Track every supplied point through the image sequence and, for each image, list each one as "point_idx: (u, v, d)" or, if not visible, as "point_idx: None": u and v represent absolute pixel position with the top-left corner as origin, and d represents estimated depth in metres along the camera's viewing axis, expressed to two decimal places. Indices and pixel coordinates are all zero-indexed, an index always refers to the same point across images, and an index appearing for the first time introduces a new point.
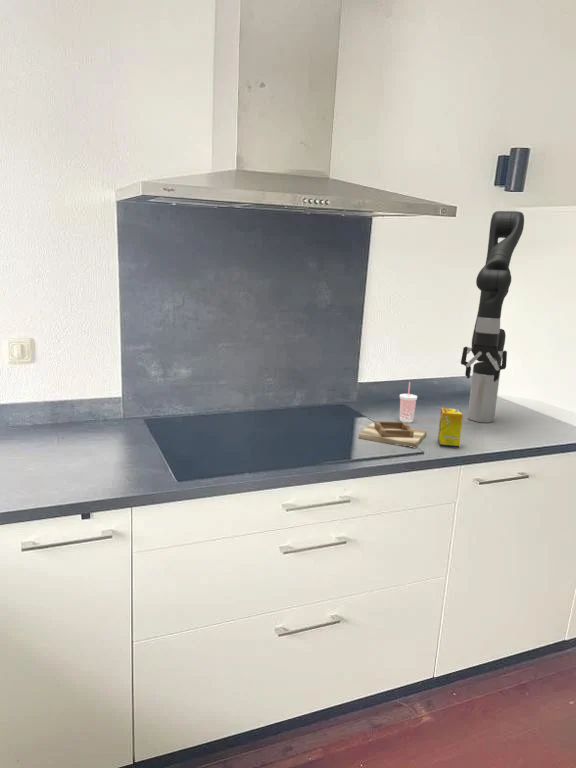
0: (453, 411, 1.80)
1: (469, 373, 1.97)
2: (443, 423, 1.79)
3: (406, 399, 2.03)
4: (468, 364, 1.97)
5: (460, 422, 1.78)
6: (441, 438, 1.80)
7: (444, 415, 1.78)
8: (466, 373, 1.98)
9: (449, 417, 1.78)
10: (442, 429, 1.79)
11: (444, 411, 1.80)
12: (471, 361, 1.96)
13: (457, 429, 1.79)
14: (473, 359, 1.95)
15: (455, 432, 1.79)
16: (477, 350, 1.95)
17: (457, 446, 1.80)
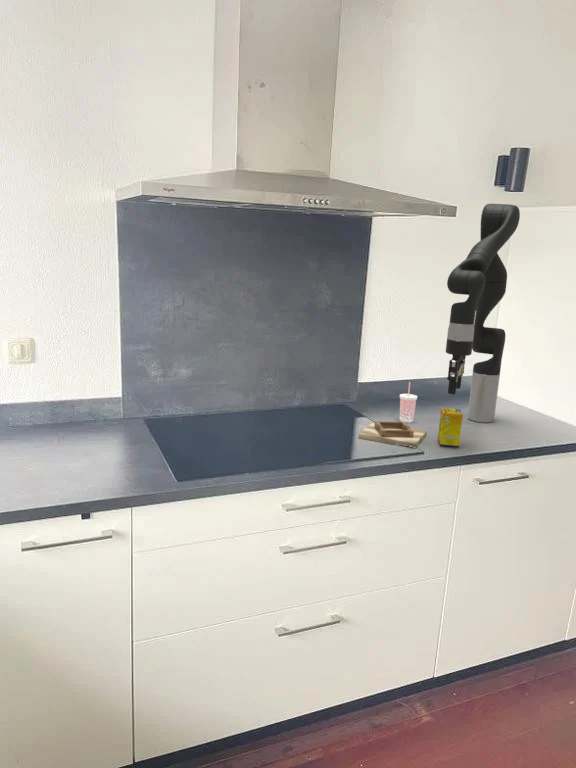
0: (453, 411, 1.80)
1: (456, 388, 1.75)
2: (443, 423, 1.79)
3: (406, 399, 2.03)
4: (457, 379, 1.74)
5: (460, 422, 1.78)
6: (441, 438, 1.80)
7: (444, 415, 1.78)
8: (454, 389, 1.74)
9: (449, 417, 1.78)
10: (442, 429, 1.79)
11: (444, 411, 1.80)
12: (458, 374, 1.74)
13: (457, 429, 1.79)
14: (460, 372, 1.74)
15: (455, 432, 1.79)
16: (460, 361, 1.75)
17: (457, 446, 1.80)
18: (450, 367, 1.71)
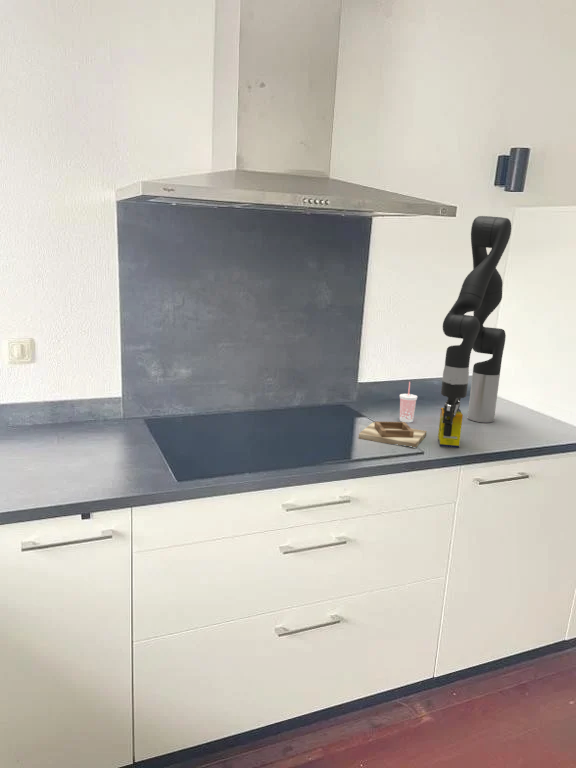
0: None
1: (451, 430, 1.78)
2: (443, 423, 1.79)
3: (406, 399, 2.03)
4: (452, 421, 1.77)
5: (460, 422, 1.78)
6: (441, 438, 1.80)
7: None
8: (449, 431, 1.78)
9: (449, 417, 1.78)
10: (442, 429, 1.79)
11: None
12: (454, 417, 1.77)
13: (457, 429, 1.79)
14: (455, 414, 1.77)
15: (455, 432, 1.79)
16: (455, 403, 1.77)
17: (457, 446, 1.80)
18: (445, 411, 1.75)
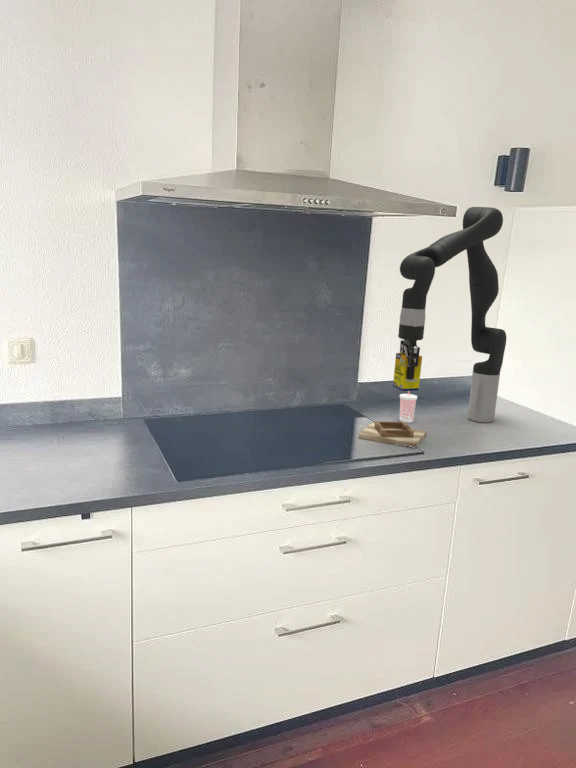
0: None
1: None
2: (405, 367, 1.78)
3: (406, 399, 2.03)
4: None
5: (420, 364, 1.79)
6: (404, 382, 1.79)
7: (406, 359, 1.77)
8: (413, 374, 1.78)
9: None
10: (405, 373, 1.78)
11: (404, 355, 1.79)
12: (416, 359, 1.78)
13: (417, 371, 1.80)
14: None
15: (415, 375, 1.80)
16: None
17: (417, 388, 1.81)
18: (412, 354, 1.74)
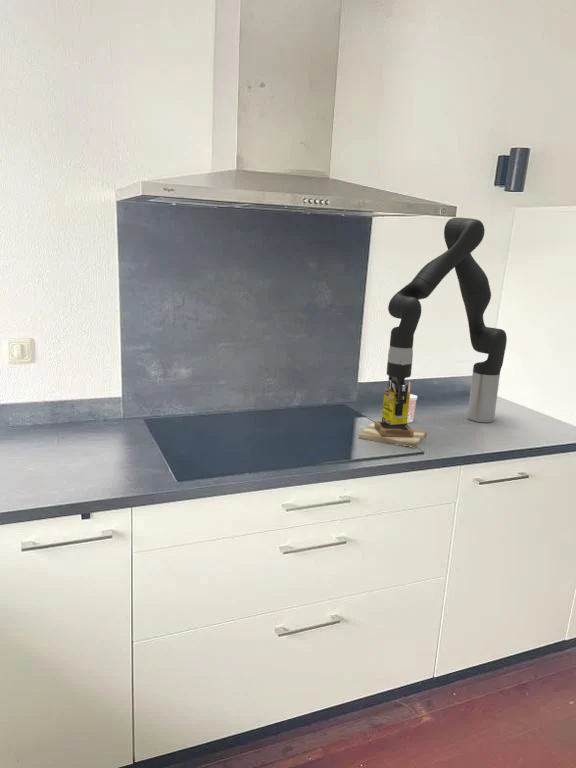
0: None
1: None
2: (394, 404, 1.82)
3: None
4: None
5: (408, 400, 1.84)
6: (392, 418, 1.83)
7: (395, 396, 1.81)
8: (401, 411, 1.82)
9: None
10: (393, 410, 1.82)
11: (392, 392, 1.83)
12: (404, 396, 1.82)
13: (405, 407, 1.84)
14: None
15: (404, 411, 1.84)
16: None
17: (405, 424, 1.85)
18: (401, 392, 1.78)
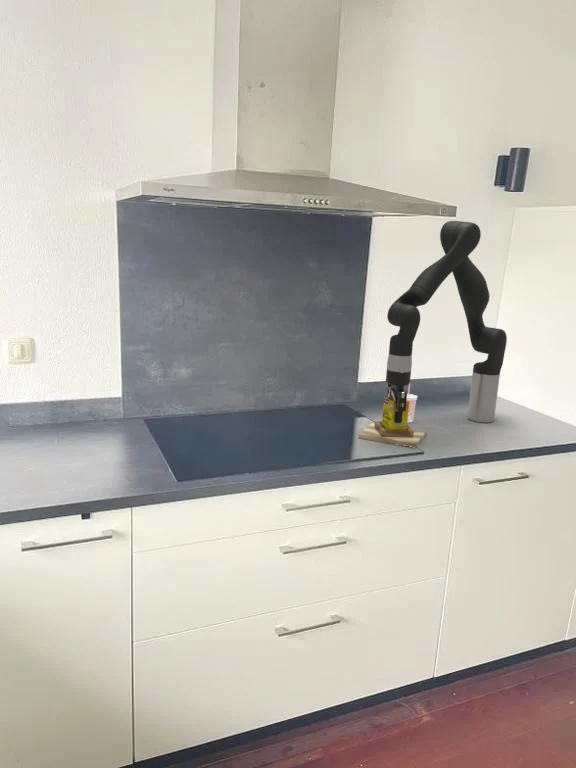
0: None
1: (401, 417, 1.83)
2: (393, 412, 1.83)
3: None
4: None
5: (407, 409, 1.84)
6: (391, 427, 1.84)
7: (394, 404, 1.82)
8: (401, 418, 1.82)
9: None
10: (392, 418, 1.83)
11: (392, 400, 1.84)
12: (403, 404, 1.82)
13: (405, 416, 1.85)
14: None
15: (403, 420, 1.85)
16: None
17: None
18: (400, 399, 1.78)
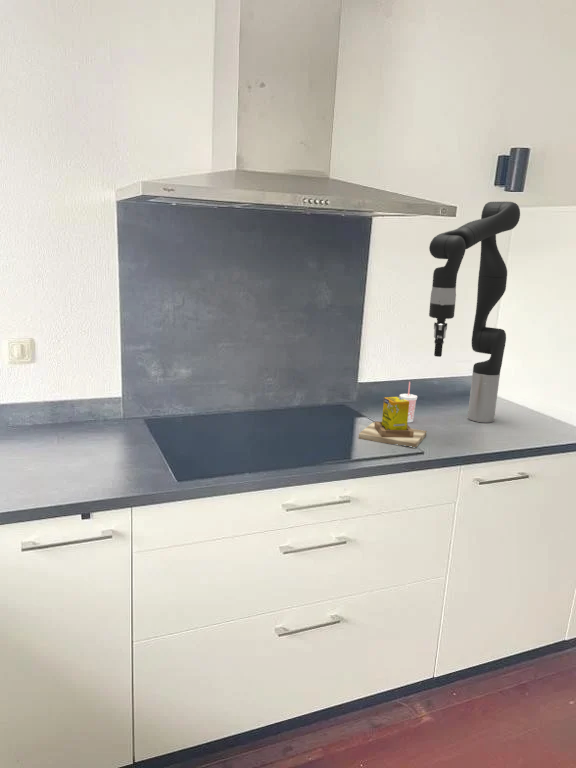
0: (398, 399, 1.86)
1: (441, 350, 1.81)
2: (393, 412, 1.83)
3: (406, 399, 2.03)
4: None
5: (407, 409, 1.84)
6: (391, 427, 1.84)
7: (394, 404, 1.82)
8: (440, 351, 1.80)
9: (398, 405, 1.83)
10: (392, 418, 1.83)
11: (392, 400, 1.84)
12: (444, 337, 1.80)
13: (405, 416, 1.85)
14: (445, 334, 1.80)
15: (403, 420, 1.85)
16: (444, 324, 1.80)
17: None
18: (437, 330, 1.77)
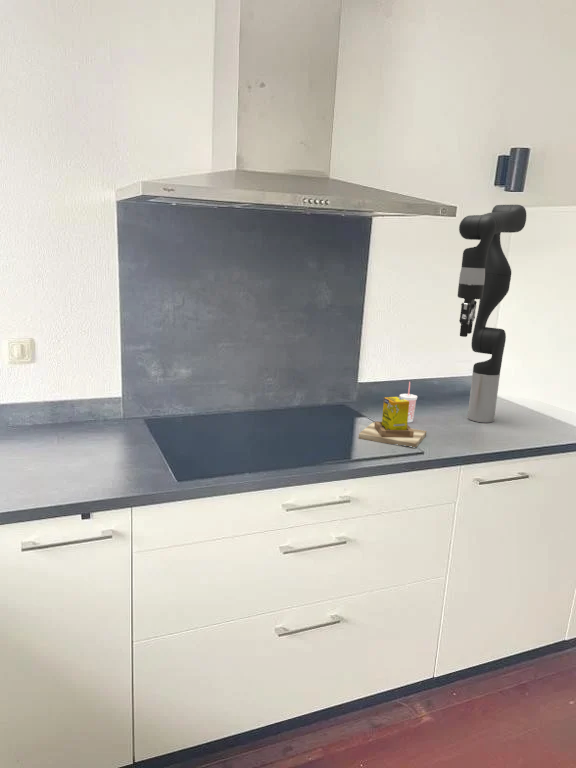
0: (398, 399, 1.86)
1: (467, 331, 1.81)
2: (393, 412, 1.83)
3: (406, 399, 2.03)
4: (469, 321, 1.80)
5: (407, 409, 1.84)
6: (391, 427, 1.84)
7: (394, 404, 1.82)
8: (465, 332, 1.80)
9: (398, 405, 1.83)
10: (392, 418, 1.83)
11: (392, 400, 1.84)
12: (470, 317, 1.80)
13: (405, 416, 1.85)
14: (472, 315, 1.80)
15: (403, 420, 1.85)
16: (471, 304, 1.81)
17: None
18: (462, 309, 1.78)
